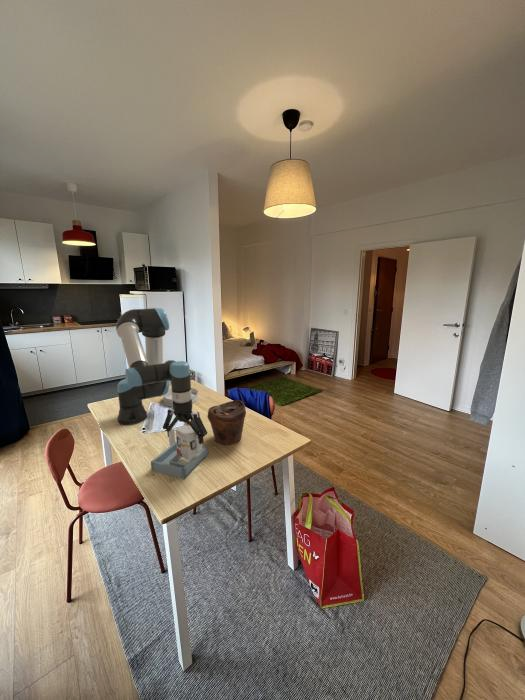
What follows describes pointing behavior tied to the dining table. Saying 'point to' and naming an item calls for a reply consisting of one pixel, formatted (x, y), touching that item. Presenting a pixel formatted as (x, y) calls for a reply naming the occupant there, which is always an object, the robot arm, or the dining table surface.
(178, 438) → the ink box
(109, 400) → the dining table surface
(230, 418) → the brown pot
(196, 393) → the dish
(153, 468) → the walled box
